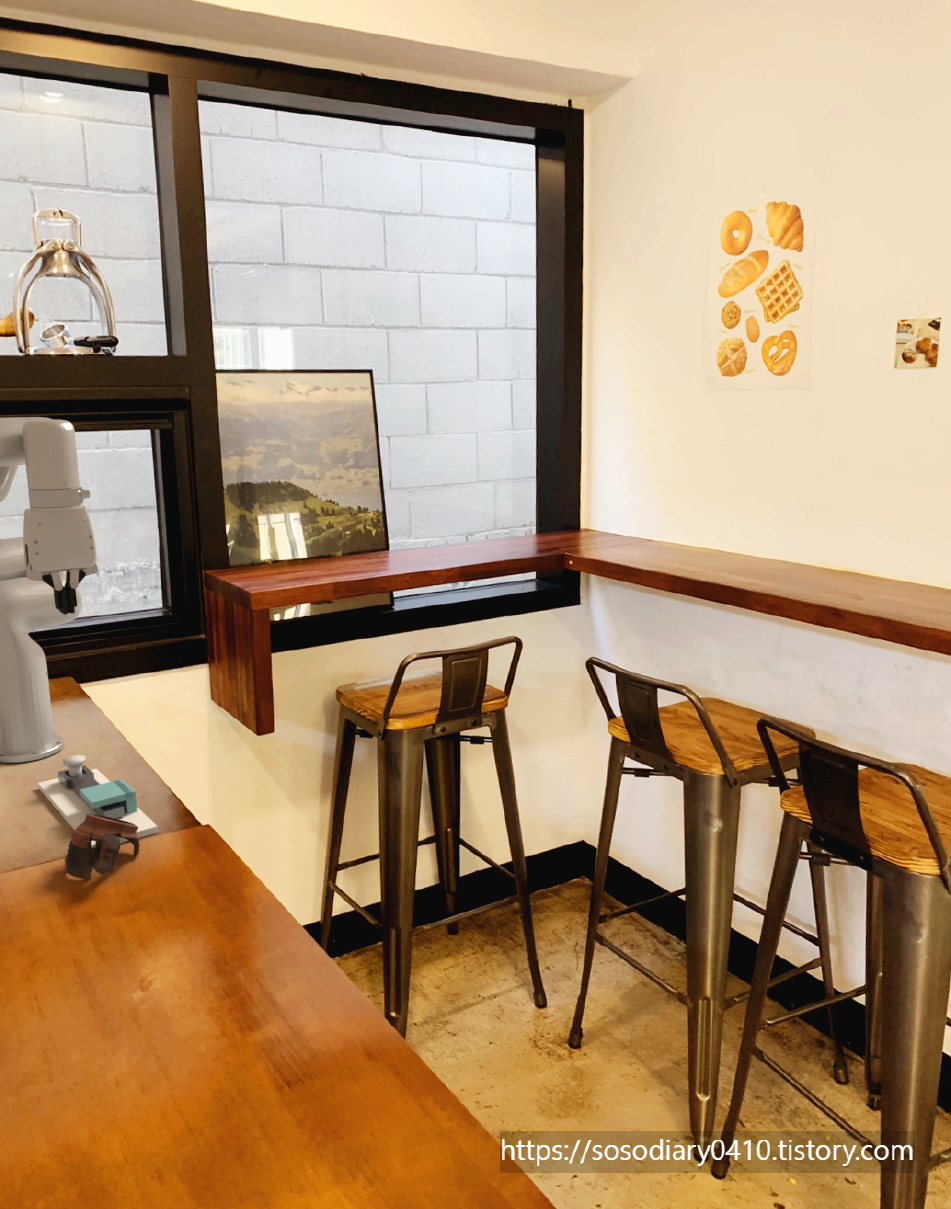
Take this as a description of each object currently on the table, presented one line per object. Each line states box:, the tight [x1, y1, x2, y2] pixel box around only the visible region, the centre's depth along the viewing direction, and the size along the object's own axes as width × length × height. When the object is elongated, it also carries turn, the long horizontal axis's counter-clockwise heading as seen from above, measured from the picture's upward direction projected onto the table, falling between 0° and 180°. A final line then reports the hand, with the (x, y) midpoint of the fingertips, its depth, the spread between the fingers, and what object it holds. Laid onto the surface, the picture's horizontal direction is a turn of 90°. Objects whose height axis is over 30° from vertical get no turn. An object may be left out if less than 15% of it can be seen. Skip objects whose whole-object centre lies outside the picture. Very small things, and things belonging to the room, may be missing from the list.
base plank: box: [37, 754, 159, 848], centre depth 148 cm, size 28×10×5 cm, turn 39°
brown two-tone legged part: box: [63, 814, 141, 881], centre depth 131 cm, size 12×10×8 cm
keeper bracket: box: [80, 778, 138, 814], centre depth 146 cm, size 6×6×3 cm
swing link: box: [57, 765, 125, 818], centre depth 150 cm, size 20×4×2 cm, turn 40°
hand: (66, 612), depth 154 cm, fingers closed
